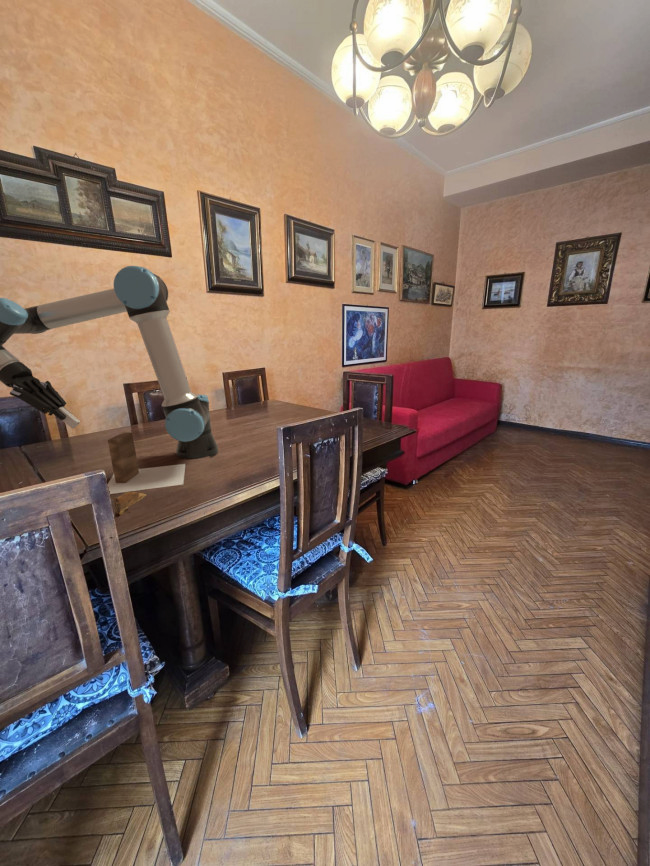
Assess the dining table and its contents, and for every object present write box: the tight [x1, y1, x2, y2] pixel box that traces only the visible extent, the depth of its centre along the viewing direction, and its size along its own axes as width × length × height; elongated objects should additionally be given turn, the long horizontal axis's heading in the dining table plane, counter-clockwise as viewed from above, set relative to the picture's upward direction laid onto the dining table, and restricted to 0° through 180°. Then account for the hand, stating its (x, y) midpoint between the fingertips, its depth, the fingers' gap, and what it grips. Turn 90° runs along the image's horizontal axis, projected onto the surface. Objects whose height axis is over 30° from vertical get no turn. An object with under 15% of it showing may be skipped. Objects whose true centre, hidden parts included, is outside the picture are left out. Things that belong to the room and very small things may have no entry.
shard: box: [113, 491, 147, 516], centre depth 96 cm, size 11×8×2 cm
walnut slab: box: [107, 431, 139, 483], centre depth 109 cm, size 3×8×14 cm, turn 179°
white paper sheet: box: [107, 463, 186, 495], centre depth 112 cm, size 22×18×1 cm
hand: (76, 425), depth 107 cm, fingers closed
